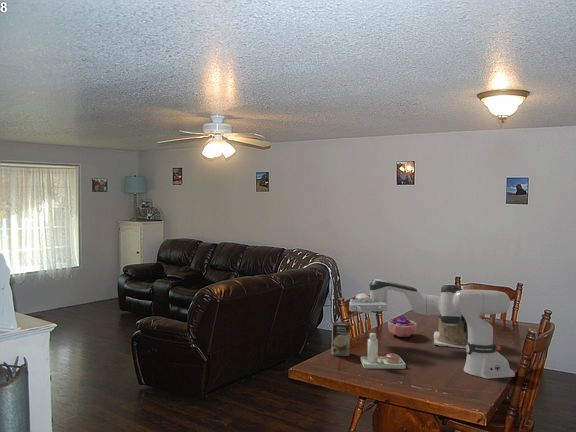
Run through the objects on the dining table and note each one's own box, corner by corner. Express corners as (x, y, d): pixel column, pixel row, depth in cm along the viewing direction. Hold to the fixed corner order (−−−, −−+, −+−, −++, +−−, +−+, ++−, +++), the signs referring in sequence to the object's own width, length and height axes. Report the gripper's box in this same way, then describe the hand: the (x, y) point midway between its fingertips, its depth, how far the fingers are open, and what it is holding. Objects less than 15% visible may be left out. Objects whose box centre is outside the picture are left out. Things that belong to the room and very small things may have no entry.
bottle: (376, 360, 253) (377, 332, 253) (378, 363, 248) (379, 335, 248) (366, 360, 253) (367, 332, 252) (368, 363, 248) (368, 335, 247)
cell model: (386, 339, 295) (386, 320, 294) (388, 330, 314) (388, 312, 314) (416, 341, 291) (416, 322, 290) (416, 332, 310) (416, 314, 310)
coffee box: (331, 355, 264) (332, 324, 263) (331, 351, 270) (331, 321, 270) (349, 356, 264) (350, 325, 263) (348, 352, 270) (349, 322, 269)
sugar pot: (397, 362, 254) (397, 351, 254) (400, 366, 248) (400, 355, 247) (384, 362, 254) (384, 351, 254) (387, 366, 248) (387, 355, 247)
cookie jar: (433, 346, 283) (434, 289, 281) (433, 334, 306) (434, 282, 305) (480, 350, 275) (482, 291, 274) (477, 338, 299) (478, 284, 298)
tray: (399, 360, 257) (399, 356, 257) (405, 368, 245) (405, 364, 245) (360, 360, 257) (360, 356, 256) (364, 368, 245) (364, 363, 244)
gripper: (384, 310, 280) (390, 315, 266) (347, 310, 279) (351, 315, 266) (384, 298, 280) (390, 303, 266) (347, 299, 279) (351, 303, 265)
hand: (370, 309), depth 266 cm, fingers open, 8 cm apart
